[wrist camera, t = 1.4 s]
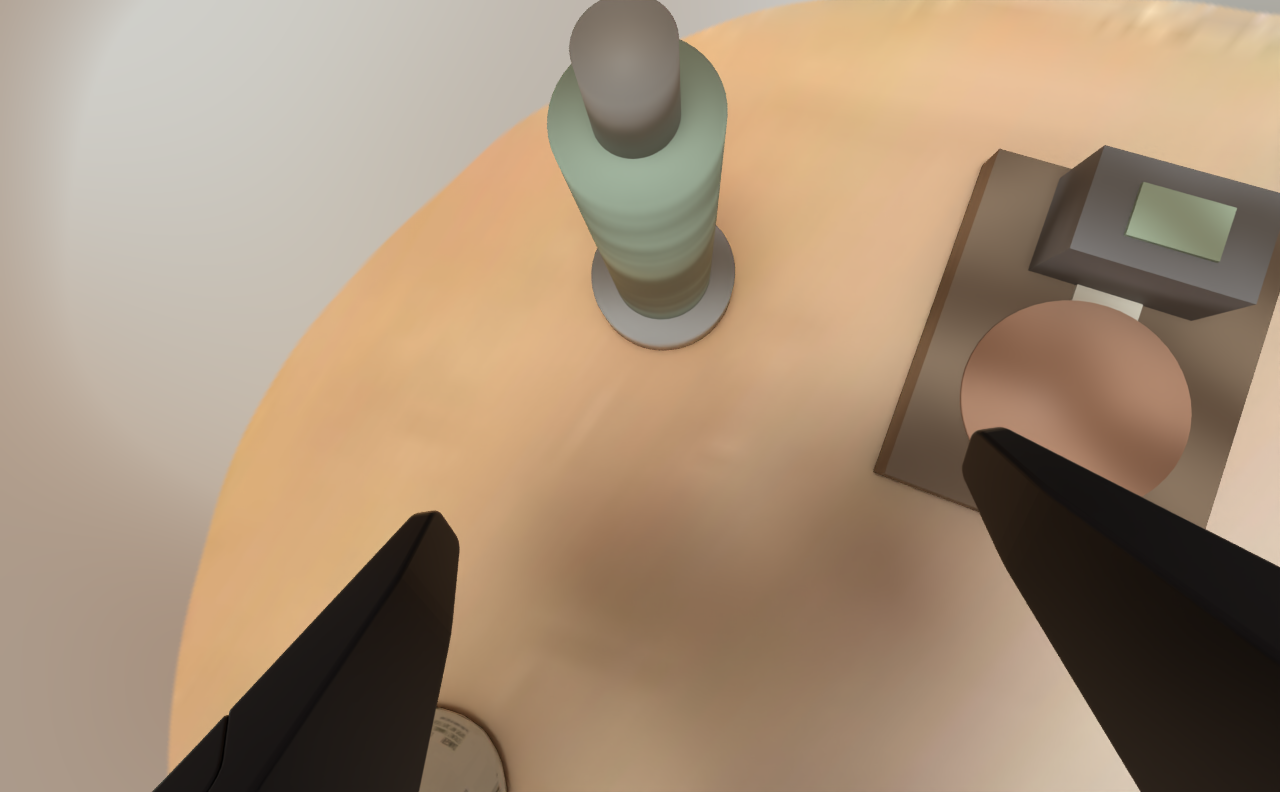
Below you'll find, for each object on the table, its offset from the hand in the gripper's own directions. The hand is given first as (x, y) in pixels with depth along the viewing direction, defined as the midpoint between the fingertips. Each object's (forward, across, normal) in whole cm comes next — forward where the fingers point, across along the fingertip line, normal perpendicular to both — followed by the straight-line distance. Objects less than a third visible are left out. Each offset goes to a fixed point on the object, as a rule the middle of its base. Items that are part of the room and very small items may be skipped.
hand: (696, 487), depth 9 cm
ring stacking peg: (+15, 0, +4) cm, 15 cm away
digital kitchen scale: (+11, -16, +8) cm, 20 cm away
